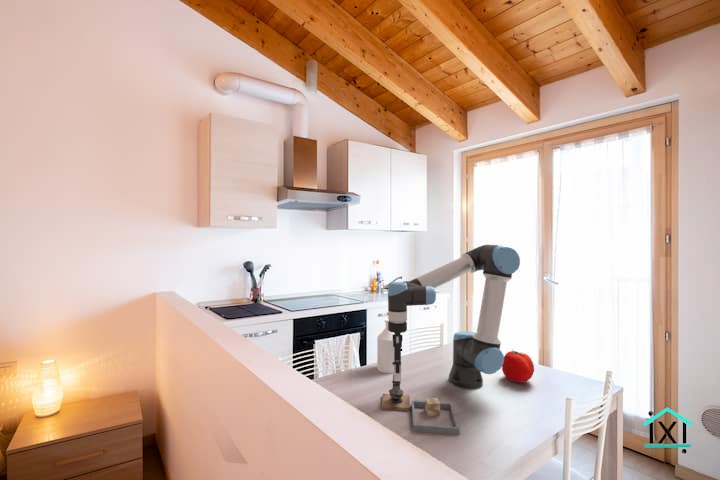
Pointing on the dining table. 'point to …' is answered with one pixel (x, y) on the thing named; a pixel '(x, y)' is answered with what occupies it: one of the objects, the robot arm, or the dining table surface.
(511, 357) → the tomato
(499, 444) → the dining table surface
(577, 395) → the dining table surface
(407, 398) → the light brown wooden board
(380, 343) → the bottle
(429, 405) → the beech block
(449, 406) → the tray
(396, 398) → the dark grey chess piece
